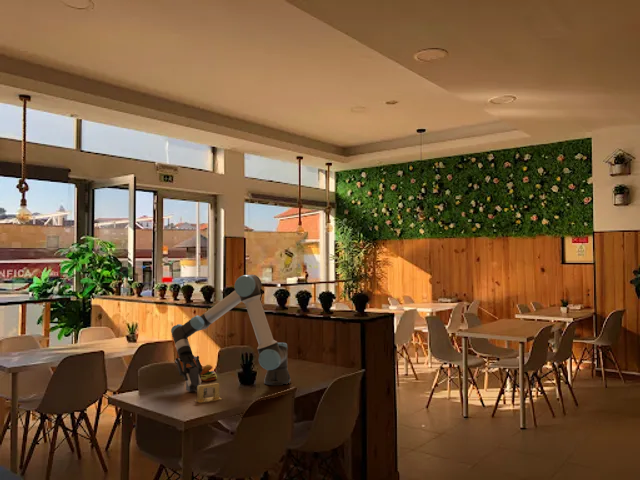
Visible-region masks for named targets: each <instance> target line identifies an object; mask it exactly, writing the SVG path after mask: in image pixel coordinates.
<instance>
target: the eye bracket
mask: <svg viewBox="0 0 640 480" xmlns="http://www.w3.org/2000/svg"><path fill="white" fill-rule="evenodd" d="M204 388H207V389H209V388H212V396H210V397H205V395H204ZM196 392H197V393H196V394H197V395H196V397H197V398H196V399H194V401H195V402H196V403H198V404H202V403H203V404H204V403H209V402H214V401H215V402H216V401H221V400H223V399H222V397H220V383H218V382H213V383H207V384H200V385H199V386H197V391H196Z"/></svg>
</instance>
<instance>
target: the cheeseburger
mask: <svg viewBox="0 0 640 480" xmlns="http://www.w3.org/2000/svg"><path fill="white" fill-rule="evenodd" d="M202 369H203V370H202V372H201V373H200V374H201V382H210V381H214V380H217V379H218V376H217V373H216V372H215V371H214V370H212V369H213V366H212V365H210V364H205V365H204V366H202ZM211 370H212V371H211Z"/></svg>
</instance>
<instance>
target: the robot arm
mask: <svg viewBox="0 0 640 480" xmlns="http://www.w3.org/2000/svg"><path fill="white" fill-rule="evenodd" d="M262 285H263V284H262V280H261V279H260V277H259V276H257V275H256V274H244V275H240V276H239V277H237V279H236V280H235V282H234V286H233V288H234V290H233V291H232V292H230V294H228V295H226V296H225V297H223V299H221V300H220V301H218V302H216V304H214V305H213V306H212V307H211V308H210V309H208V310H206V312H203V314H201V315H195V316H193V317H191V319H189V320H188V321H186V322H185V323H184V324H180V323H178V324H176V325H173V326H172V327H171V330H170V332H171V337H172V339H173V343H174V346H175V349H176V352H177V355H178V357H176V358H175V359H174V364H176V367H177V371H178V373H179V376H182V377H183V378H184V381H187V383H188V386H189V387H190V385H191V381H190V378H189V375H188V373H187V374H186V368H187V365H189V366H190V367H198V368H199V385H202V380H201V374H200V373H201V372H202V370H203V369H202V367H203V366H202V363H201V361H200V356H199V355H197V356H195V355H194V354H193V351H192V347H191V344H190V342H189V339H188V338H190V337H191V336H192V335H194V334H195V333H196V332H199V331H204V330H206V329H207V328H209V327H210V325H212V324H213V323H214V322H216V321H217V320H219V318H221V317H222V316H224V315H225V314H226V313H228V312H229V311H231V310H232V309H234V308H235V307H236V306H237V305H238V304H240V303H243V304H244V305H245V308H246V311H247V313H248V316H249V321H250V322H251V325H252V328H253V331H254V332H253V333H254V334H255V338H256V340H257V343H258V346H257V348H256V349H257V354H258V364H259V365H260V367H262V368H263V369H264V370H266V373H265V376H264V379H263V381H264V382H263V383H264V385H268V386H284V385H283V384H286V385H288V384H287V383H289V382H290V381H291V379H292V378H291V376H290V372H289V370H288V344H287V343H286V342H278V341H277V340H275V339H274V337H273V333H272V331H271V328H270V325H269V322H268V319H267V317H266V313H265V310H264V308H263V304H262V301H261V297H262V293H261V289H262ZM181 363H182V365H181ZM291 382H292V381H291ZM289 384H290V383H289Z"/></svg>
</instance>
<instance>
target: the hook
mask: <svg viewBox="0 0 640 480" xmlns="http://www.w3.org/2000/svg"><path fill="white" fill-rule="evenodd" d="M187 373H188V375H189V378H190V381H191V385H190V387H189V386H188V383H187V381H186V382H185V383H186V384H185V385H186V386H185V387H186V388H185V390H186V391H188V392H189V393H191V392H197V386H199V368H198V367H192V366H189V367H188V366H186V374H187ZM206 395H208V388H204V396H206Z"/></svg>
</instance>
